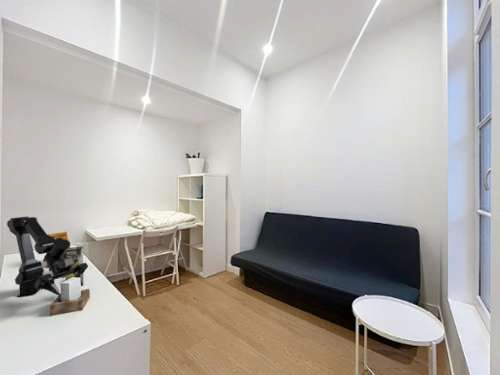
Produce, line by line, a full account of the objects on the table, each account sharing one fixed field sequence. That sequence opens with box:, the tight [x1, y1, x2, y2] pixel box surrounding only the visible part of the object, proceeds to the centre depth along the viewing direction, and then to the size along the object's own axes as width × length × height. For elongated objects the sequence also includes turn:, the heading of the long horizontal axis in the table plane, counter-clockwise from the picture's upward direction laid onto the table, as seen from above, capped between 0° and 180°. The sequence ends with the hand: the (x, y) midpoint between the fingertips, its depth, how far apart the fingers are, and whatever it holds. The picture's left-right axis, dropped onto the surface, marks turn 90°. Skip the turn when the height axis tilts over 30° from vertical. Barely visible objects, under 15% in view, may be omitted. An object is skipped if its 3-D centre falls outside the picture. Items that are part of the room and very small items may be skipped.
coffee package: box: [45, 231, 71, 268], centre depth 150 cm, size 10×12×22 cm
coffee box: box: [61, 245, 84, 278], centre depth 134 cm, size 9×6×16 cm
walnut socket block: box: [49, 288, 91, 317], centre depth 98 cm, size 11×11×4 cm
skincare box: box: [60, 277, 82, 302], centre depth 98 cm, size 6×4×12 cm
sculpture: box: [64, 274, 76, 281], centre depth 124 cm, size 8×4×8 cm
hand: (71, 290), depth 98 cm, fingers open, 9 cm apart
